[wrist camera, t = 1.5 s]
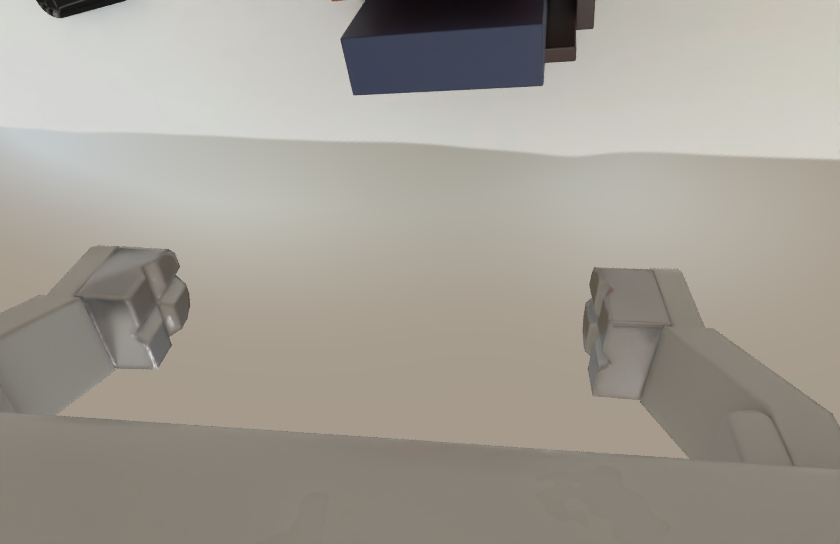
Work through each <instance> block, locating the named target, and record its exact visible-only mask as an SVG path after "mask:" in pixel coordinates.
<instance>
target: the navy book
mask: <svg viewBox="0 0 840 544" xmlns="http://www.w3.org/2000/svg"><path fill="white" fill-rule="evenodd" d="M547 17H548V0H365V2H364V4H363V5H362V7H361V8H360V10H359V11H358V13H357V14H356V16H355V17H354V19H353V20H352V22H351V23H350V25H349V26H348V28H347V29H346V31H345V33H344V34H343V36H342V37H341V39H340V40H341V44H342V48H343V53H344V57H345V61H346V65H347V70H348V74H349V78H350V83H351V87H352V91H353V95H371V94H390V93H410V92H430V91H450V90H470V89H490V88H509V87H529V86H543V83H544V66H545V50H546V33H547Z"/></svg>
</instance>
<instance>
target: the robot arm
mask: <svg viewBox="0 0 840 544" xmlns="http://www.w3.org/2000/svg"><path fill="white" fill-rule="evenodd" d="M179 267H180V265H179V263H178V260H177V258H176V255H175V253H174V252H172V251H170V250H169V249H156V248H140V247H125V246H122V247H119V246H104V245H98V246H94V247H91V248H90V249H89V250H88V251H87V252H86V253H85V254H84V255H83V256H82V257H81V259H80V260H79V261H78V262H77V263H76V264H75V265H74V266H73V267H72V268H71V269H70V270H69V272H67V274H66V275H65V276H64V277H63V278H62V279H61V280H60V281H59V282H58V283H57V284H56V286H55V287H54V288H53V289H52V290H51V291H50V292H49V293H48V294H47V295H38V296H36V297H34V298H32V299H29V300H27V301H25V302H23V303H21V304H19V305H17V306H14V307H12V308H10V309H8V310H6V311H4V312H2V313H0V544H840V427H839V425H838V423H837V421H836V419H835V418H834V416H833V414H832V413H831V412H829V411H828V410H826V409H825V408H824V407H822V406H821V405H820V404H818V403H817V402H815V401H814V400H813V399H811V398H810V397H808V396H807V395H805V394H804V393H803V392H801V391H800V390H799V389H797V388H796V387H794V386H793V385H791V384H790V383H789V382H787V381H786V380H785V379H783V378H782V377H780V376H779V375H778V374H776V373H774V372H773V371H772V370H771V369H769V368H768V367H766V366H765V365H764V364H762V363H761V362H759V361H758V360H757V359H755V358H754V357H752V356H751V355H750V354H748V353H747V352H745V351H744V350H742V349H741V348H740V347H738V346H737V345H736V344H734V343H733V342H732V341H730V340H729V339H727V338H726V337H725V336H723V335H722V334H720V333H719V332H718V331H716V330H714V329H711V328H705V326H704V324H703V321H702V319H701V317H700V314H699V312H698V309H697V307H696V305H695V302H694V300H693V297H692V295H691V293H690V290H689V288H688V286H687V283H686V281H685V278H684V276H683V274H682V272H681V271H680V270H679V269H656V268H652V269H651V268H650V269H626V268H599V267H594V270H593V272H592V275H591V280H590V289H591V295H592V298H591V299H590V300H589V301H588V302H586V305H585V311H584V318H583V342H584V348H585V352H587V353H588V354H589V355H590V361H589V366H588V372H589V377H590V383H591V389H592V395H593V396H599V397H611V398H623V399H633V400H640V403H641V404H642V405H643V406H644V407H645V408H646V409H647V411H648V412H649V413H650V414H651V415H652V416H653V418H654V419H655V420H656V421H657V422H658V423H659V424H660V426H661V427H662V428H663V429H664V430H665V431H666V432H667V434H668V435H669V436H670V437H671V438H672V439H673V440H674V441H675V443H676V444H677V445H678V446H679V447H680V448H681V449H682V451H683V452H684V453H685V454H686V455H687V456H688V457H689V459H682V458H668V457H653V456H639V455H624V454H608V453H594V452H578V451H563V450H547V449H532V448H517V447H504V446H489V445H476V444H475V445H474V444H460V443H447V442H432V441H418V440H405V439H391V438H377V437H362V436H347V435H333V434H318V433H303V432H288V431H273V430H258V429H244V428H228V427H214V426H200V425H199V426H198V425H185V424H171V423H155V422H141V421H127V420H112V419H97V418H83V417H68V416H55V415H57V414H58V413H59V412H61V411H62V410H63V409H65V408H66V407H67V406H69V405H70V404H71V403H73V402H74V401H75V400H77V399H78V398H79V397H81V396H82V395H83V394H85V393H86V392H87V391H89V390H90V389H91V388H93V387H94V386H95V385H97V384H98V383H99V382H101V381H102V380H103V379H105V378H106V377H107V376H109V375H110V374H111V373H113V372H114V371H115V368H122V369H154V370H157V369H158V367H159V366H160V364H161V362H162V361H163V359H164V357H165V356H166V354H167V352H168V351H169V349H170V348H171V346H172V344H171V341H170V338H169V337H170V336H171V335H173V334H174V333H176V332H178V331H179V330H181V329H182V327H183V325H184V324H185V322H186V320H187V318H188V312H189V308H190V299H189V292H188V289H187V286H186V284H185V283H184V282H183V281H182V280H181V279H180V278H178V277H177V276H176V273H177V271H178V269H179Z"/></svg>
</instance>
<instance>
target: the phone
mask: <svg viewBox="0 0 840 544" xmlns="http://www.w3.org/2000/svg"><path fill="white" fill-rule="evenodd" d="M36 1H37V2H38V4H39V5H40V6H41V8H42V9H43V10H44V11H45V12H47V13H48V14H49V15H51V16H53V17H56V18H64V17H68V16H71V15H75V14H79V13H82V12H86V11H90V10H93V9H97V8H101V7H104V6H108V5H112V4H115V3H119V2H123V1H126V0H36Z"/></svg>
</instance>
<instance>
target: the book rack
mask: <svg viewBox="0 0 840 544" xmlns="http://www.w3.org/2000/svg"><path fill="white" fill-rule="evenodd" d="M594 10H595V0H548V17H547V33H546V50H545V63H549V62H566V61H575V60H576V30H582V29H593V27H594Z"/></svg>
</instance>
